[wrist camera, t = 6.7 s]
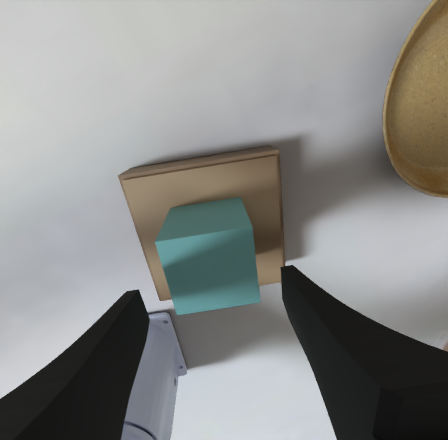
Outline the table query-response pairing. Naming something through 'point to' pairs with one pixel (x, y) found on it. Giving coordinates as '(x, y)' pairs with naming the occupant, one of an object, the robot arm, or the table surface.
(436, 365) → the robot arm
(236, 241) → the teal cube
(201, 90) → the table surface
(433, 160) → the plant saucer
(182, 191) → the walnut plinth
